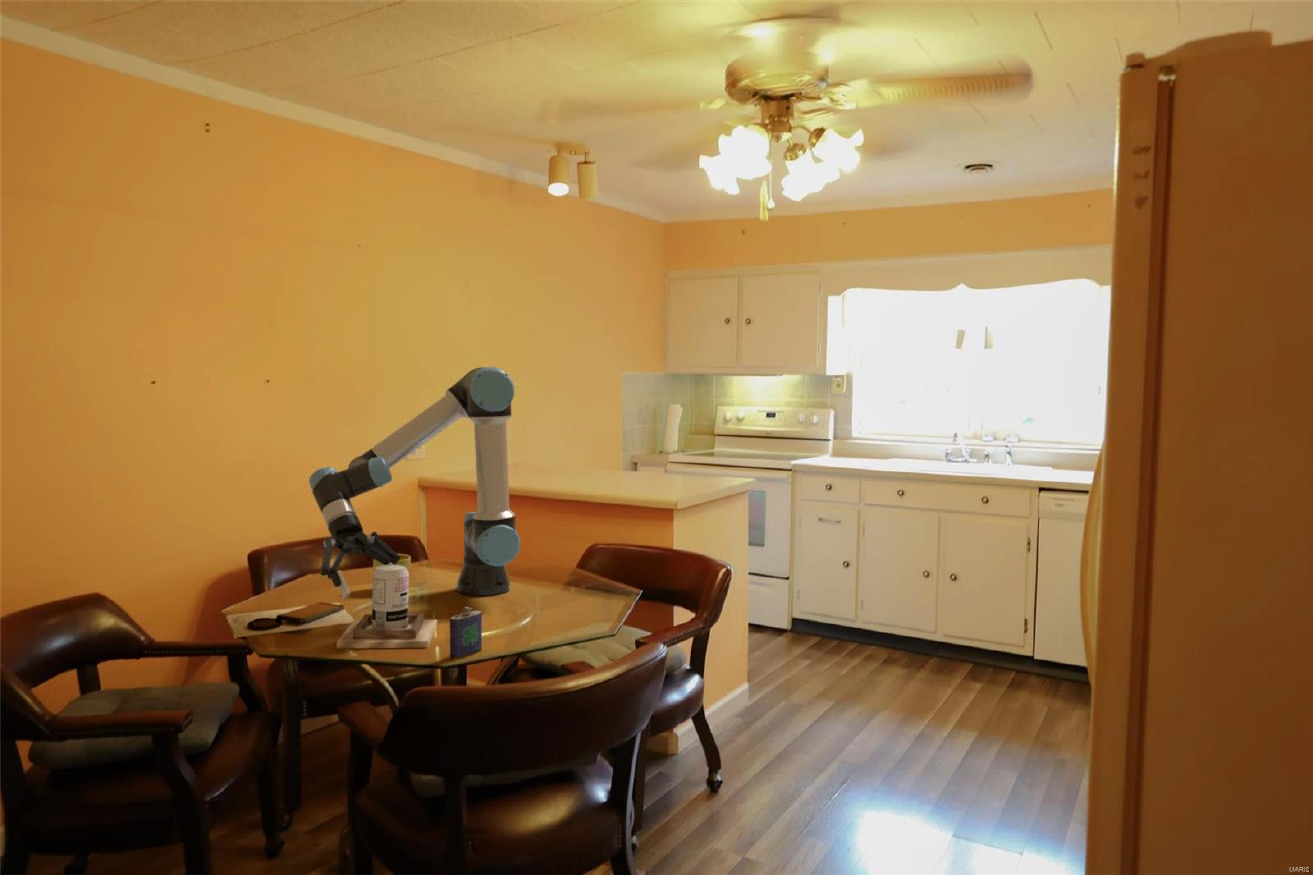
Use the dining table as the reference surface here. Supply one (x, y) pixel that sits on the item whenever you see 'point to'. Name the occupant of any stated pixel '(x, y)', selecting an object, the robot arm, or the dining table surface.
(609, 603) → the dining table surface
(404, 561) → the plant pot
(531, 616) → the dining table surface
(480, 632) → the flask
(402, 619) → the supplement can
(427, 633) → the oak stand
